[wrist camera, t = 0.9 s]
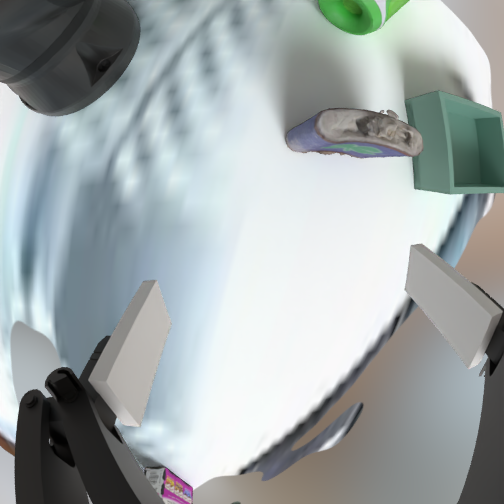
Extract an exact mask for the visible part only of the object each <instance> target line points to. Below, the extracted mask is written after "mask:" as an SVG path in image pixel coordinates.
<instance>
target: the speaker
mask: <svg viewBox="0 0 504 504" xmlns="http://www.w3.org/2000/svg"><path fill="white" fill-rule="evenodd" d="M408 1H409V0H318V3H319V7H320V9H321V11H322V13H323V14H324V16H325V17H326V18H327V19H328V20H329V21H330V22H331V23H332V24H334V25H335V26H336V27H338V28H339V29H341V30H343V31H345V32H347V33H350V34H354V35H365V34H368V33H371V32H374V31H376V30H378V29H380V28H381V27H382V26H383V25H384V24H385V22H386V21H387V20H388V19H389V18H390V17H391V16H392V15H394V14H395V13H396V12H397V11H398V10H399V9H400V8H401V7H402V6H404V5H405V4H406V3H407V2H408Z"/></svg>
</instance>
